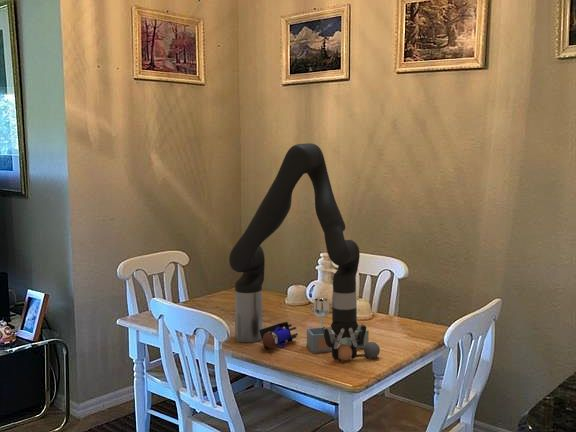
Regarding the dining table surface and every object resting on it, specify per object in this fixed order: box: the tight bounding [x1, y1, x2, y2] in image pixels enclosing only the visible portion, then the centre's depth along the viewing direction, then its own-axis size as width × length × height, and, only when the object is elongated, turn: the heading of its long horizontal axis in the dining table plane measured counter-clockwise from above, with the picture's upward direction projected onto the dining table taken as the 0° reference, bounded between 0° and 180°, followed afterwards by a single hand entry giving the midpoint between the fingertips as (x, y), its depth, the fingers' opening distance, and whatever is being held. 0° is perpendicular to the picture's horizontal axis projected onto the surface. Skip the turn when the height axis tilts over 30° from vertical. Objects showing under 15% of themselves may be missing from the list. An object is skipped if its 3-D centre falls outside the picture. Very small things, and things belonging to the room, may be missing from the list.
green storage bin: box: [339, 323, 370, 350], centre depth 201 cm, size 8×8×6 cm
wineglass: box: [312, 297, 330, 327], centre depth 215 cm, size 6×6×12 cm
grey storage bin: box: [306, 326, 335, 354], centre depth 198 cm, size 8×8×6 cm
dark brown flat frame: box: [337, 353, 380, 364], centre depth 189 cm, size 13×4×1 cm, turn 103°
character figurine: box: [260, 321, 299, 351], centre depth 201 cm, size 8×7×15 cm
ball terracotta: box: [337, 344, 352, 361], centre depth 187 cm, size 5×5×5 cm
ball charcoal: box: [363, 341, 381, 358], centre depth 189 cm, size 5×5×5 cm
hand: (344, 358), depth 188 cm, fingers closed on ball terracotta, 5 cm apart
